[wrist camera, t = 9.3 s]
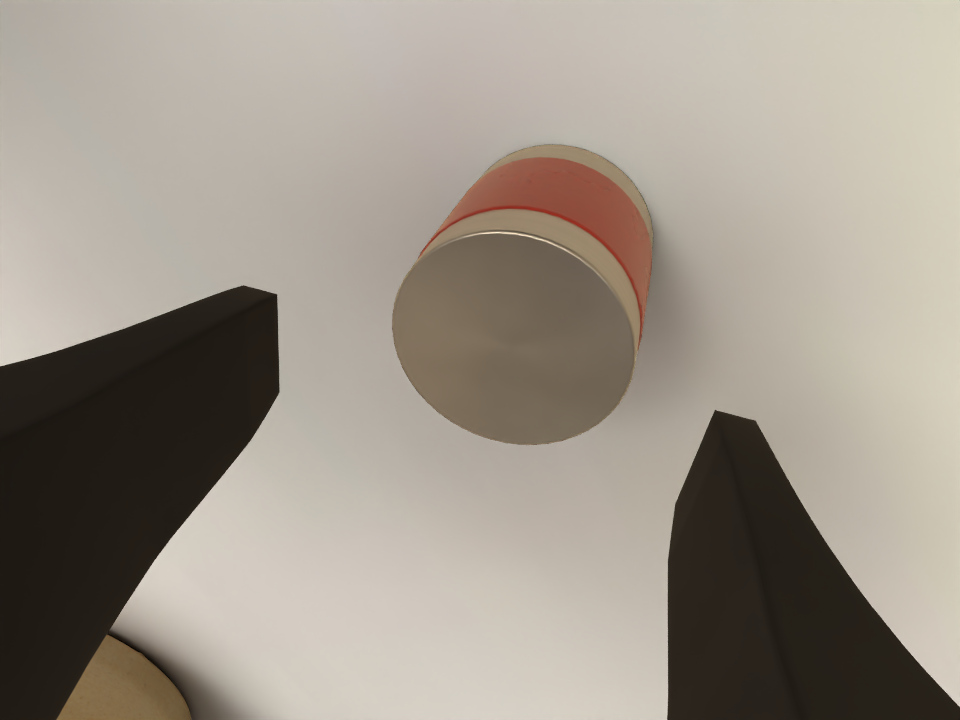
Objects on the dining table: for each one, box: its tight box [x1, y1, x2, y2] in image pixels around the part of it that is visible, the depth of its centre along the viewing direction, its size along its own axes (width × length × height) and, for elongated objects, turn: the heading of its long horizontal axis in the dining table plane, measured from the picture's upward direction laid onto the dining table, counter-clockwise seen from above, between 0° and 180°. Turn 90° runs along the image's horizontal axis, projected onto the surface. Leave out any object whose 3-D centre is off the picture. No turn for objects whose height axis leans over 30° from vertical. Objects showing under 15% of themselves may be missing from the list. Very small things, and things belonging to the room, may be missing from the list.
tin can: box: [392, 145, 653, 445], centre depth 16 cm, size 5×5×5 cm
